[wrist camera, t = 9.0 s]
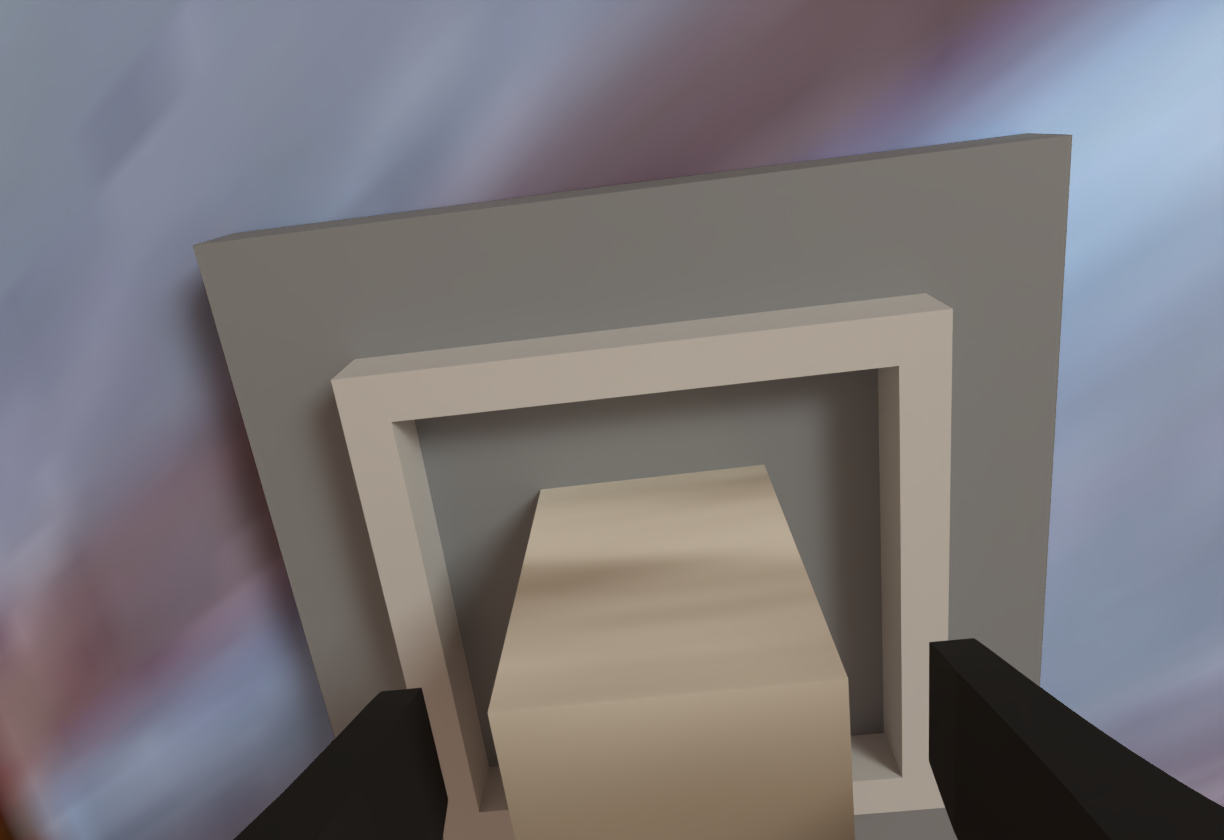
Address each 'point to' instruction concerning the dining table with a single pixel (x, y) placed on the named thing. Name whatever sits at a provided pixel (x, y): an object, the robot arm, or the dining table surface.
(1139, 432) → the dining table surface
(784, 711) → the block
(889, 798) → the base
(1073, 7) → the dining table surface
